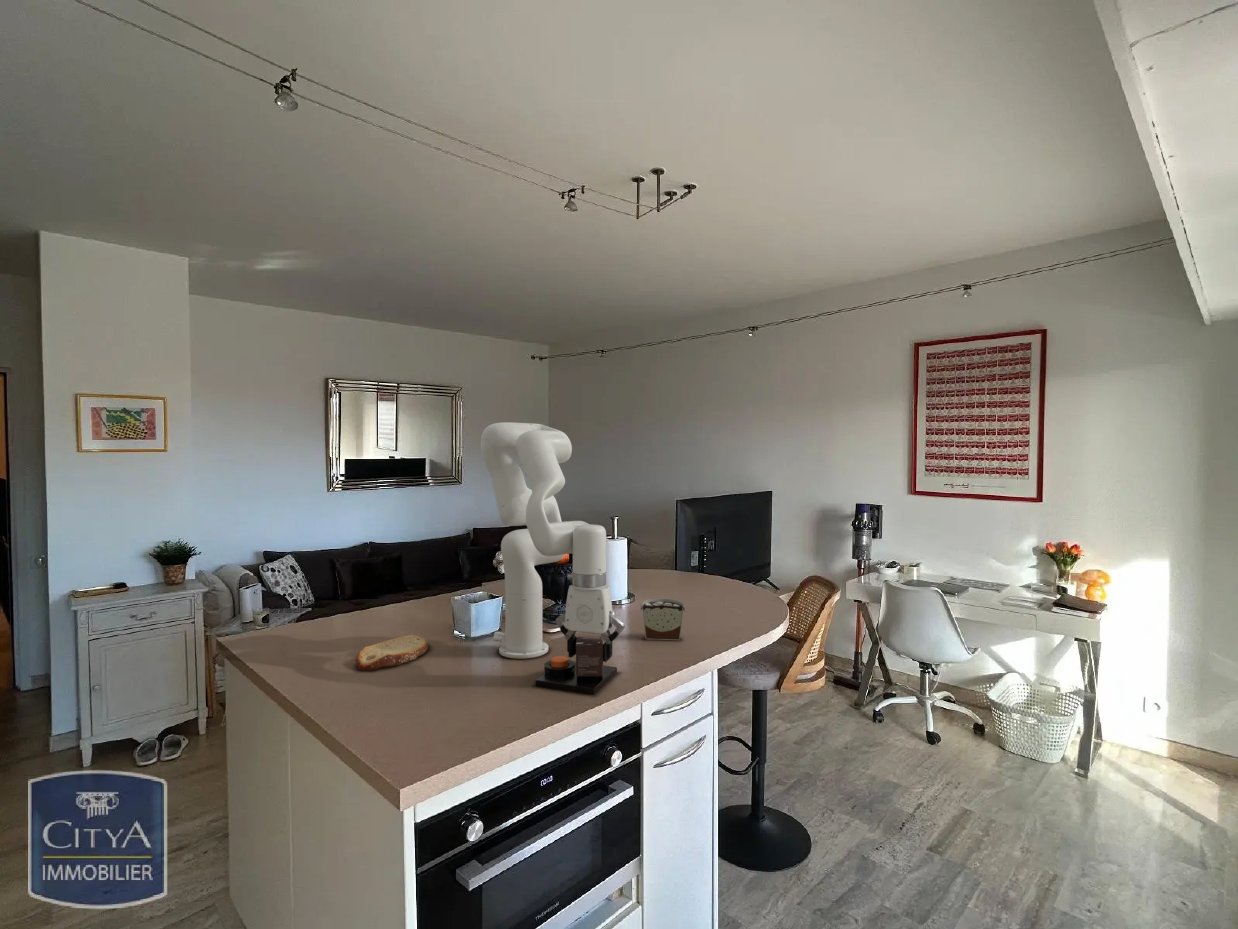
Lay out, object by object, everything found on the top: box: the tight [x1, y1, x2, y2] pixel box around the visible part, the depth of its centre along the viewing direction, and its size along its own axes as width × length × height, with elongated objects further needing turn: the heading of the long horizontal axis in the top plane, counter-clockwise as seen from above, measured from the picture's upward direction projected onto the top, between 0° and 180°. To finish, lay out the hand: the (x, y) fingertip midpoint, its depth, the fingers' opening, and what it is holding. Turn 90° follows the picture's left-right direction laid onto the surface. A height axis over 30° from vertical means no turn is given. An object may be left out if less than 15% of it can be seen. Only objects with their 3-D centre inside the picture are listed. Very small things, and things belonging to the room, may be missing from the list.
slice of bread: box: [354, 634, 429, 671], centre depth 157 cm, size 18×18×4 cm
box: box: [575, 635, 604, 677], centre depth 141 cm, size 6×6×7 cm
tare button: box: [550, 655, 569, 668], centre depth 143 cm, size 4×4×2 cm
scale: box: [535, 659, 618, 696], centre depth 142 cm, size 15×14×3 cm
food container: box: [640, 598, 686, 641], centre depth 174 cm, size 12×6×10 cm, turn 84°
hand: (589, 657), depth 141 cm, fingers closed on box, 7 cm apart
